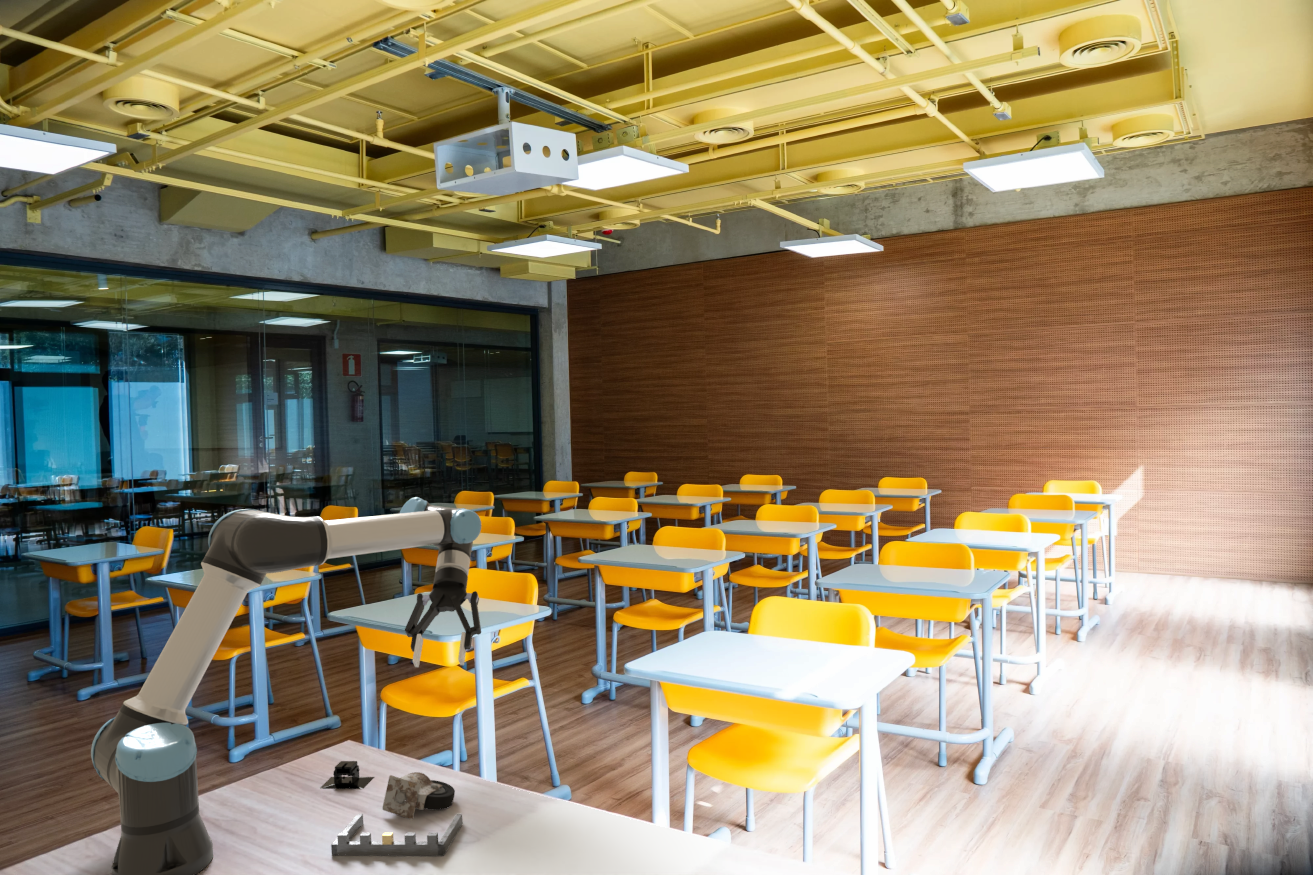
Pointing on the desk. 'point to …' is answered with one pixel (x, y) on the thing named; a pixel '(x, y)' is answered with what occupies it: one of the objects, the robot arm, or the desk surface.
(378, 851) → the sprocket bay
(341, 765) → the black mounting bracket
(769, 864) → the desk surface
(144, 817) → the robot arm
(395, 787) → the caster wheel
